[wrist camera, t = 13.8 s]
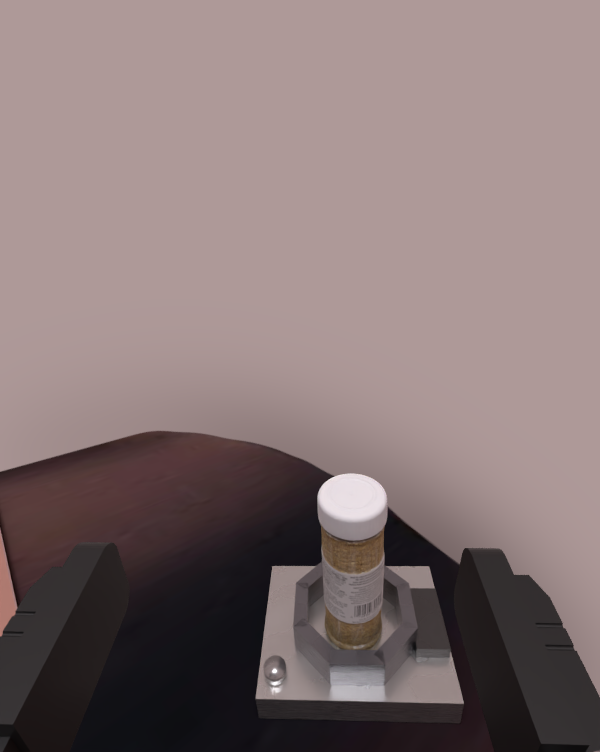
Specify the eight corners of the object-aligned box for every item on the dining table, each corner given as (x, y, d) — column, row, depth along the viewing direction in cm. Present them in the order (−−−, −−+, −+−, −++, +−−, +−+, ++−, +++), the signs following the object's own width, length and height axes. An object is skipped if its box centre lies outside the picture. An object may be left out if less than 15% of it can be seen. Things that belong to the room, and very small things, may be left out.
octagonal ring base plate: (259, 718, 31) (252, 678, 29) (274, 584, 41) (270, 547, 39) (460, 723, 30) (467, 682, 28) (427, 584, 40) (431, 546, 38)
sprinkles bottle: (370, 594, 37) (373, 465, 31) (391, 646, 33) (399, 510, 27) (317, 607, 36) (309, 477, 30) (332, 662, 32) (327, 525, 26)
